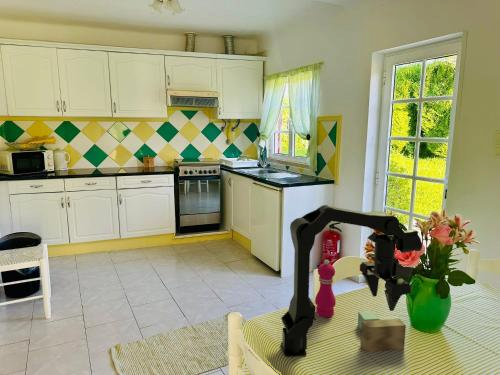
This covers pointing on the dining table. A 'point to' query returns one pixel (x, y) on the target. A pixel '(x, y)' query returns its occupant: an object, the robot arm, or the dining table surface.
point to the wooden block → (383, 335)
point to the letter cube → (366, 317)
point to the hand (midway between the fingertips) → (382, 303)
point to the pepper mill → (325, 290)
